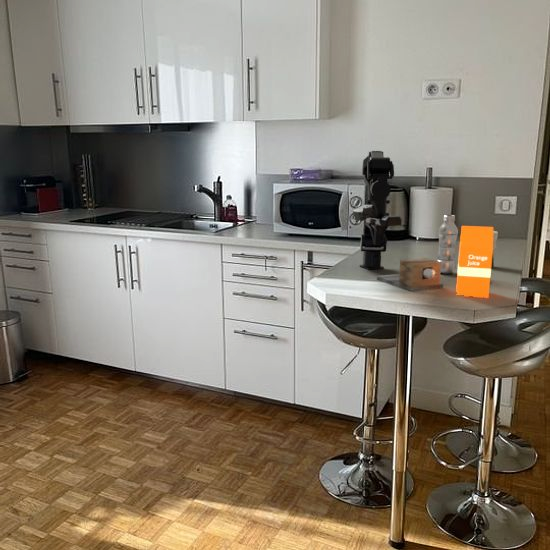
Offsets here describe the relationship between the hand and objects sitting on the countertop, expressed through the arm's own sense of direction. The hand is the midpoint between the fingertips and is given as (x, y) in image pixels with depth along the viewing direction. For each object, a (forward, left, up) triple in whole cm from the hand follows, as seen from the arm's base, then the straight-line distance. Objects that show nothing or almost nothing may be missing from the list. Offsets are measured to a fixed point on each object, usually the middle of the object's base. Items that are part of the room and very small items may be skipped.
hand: (375, 244), depth 181 cm
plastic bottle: (+5, +26, -11) cm, 29 cm away
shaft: (+17, +5, -9) cm, 20 cm away
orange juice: (+30, +14, -11) cm, 35 cm away
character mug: (+2, +47, -11) cm, 48 cm away
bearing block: (+12, +5, -11) cm, 17 cm away
